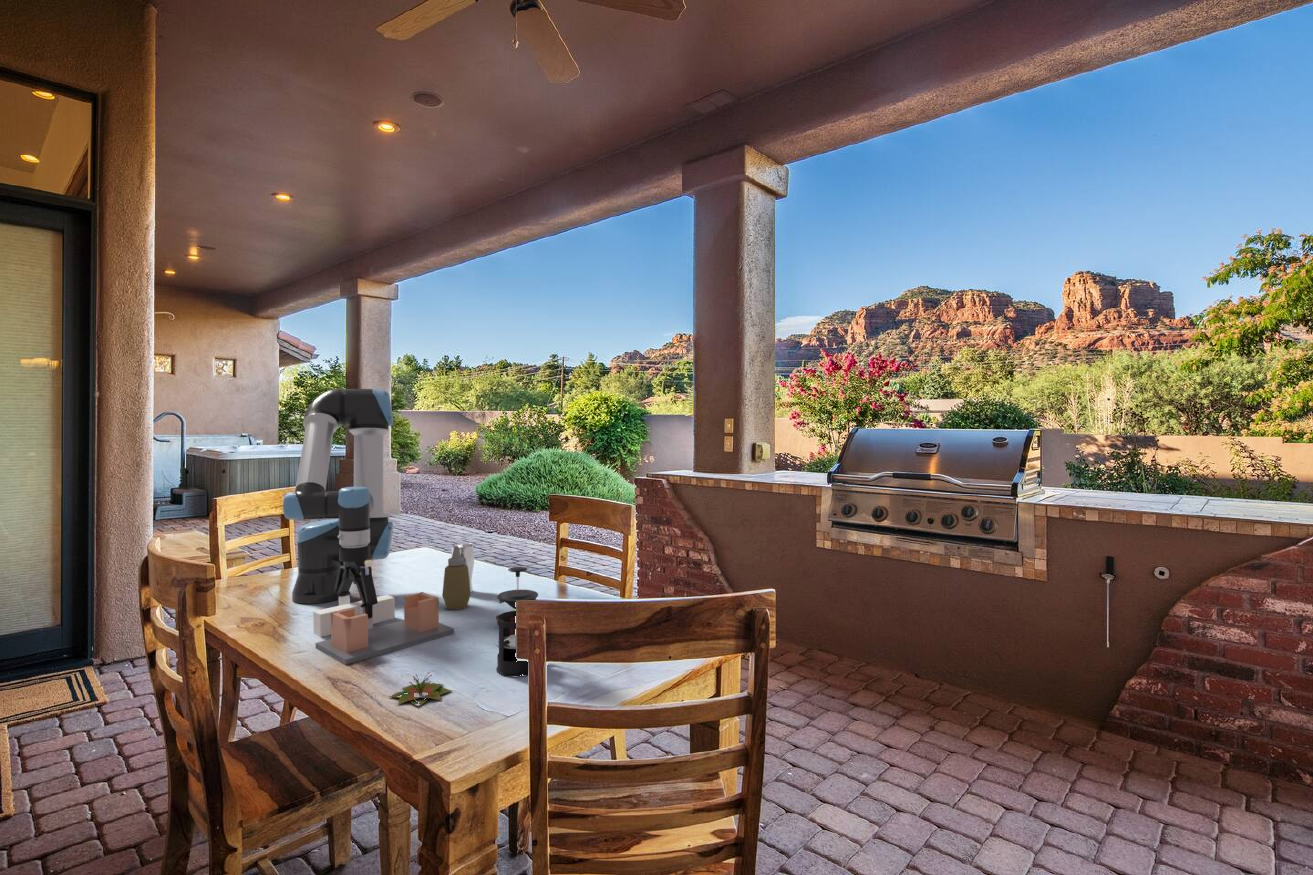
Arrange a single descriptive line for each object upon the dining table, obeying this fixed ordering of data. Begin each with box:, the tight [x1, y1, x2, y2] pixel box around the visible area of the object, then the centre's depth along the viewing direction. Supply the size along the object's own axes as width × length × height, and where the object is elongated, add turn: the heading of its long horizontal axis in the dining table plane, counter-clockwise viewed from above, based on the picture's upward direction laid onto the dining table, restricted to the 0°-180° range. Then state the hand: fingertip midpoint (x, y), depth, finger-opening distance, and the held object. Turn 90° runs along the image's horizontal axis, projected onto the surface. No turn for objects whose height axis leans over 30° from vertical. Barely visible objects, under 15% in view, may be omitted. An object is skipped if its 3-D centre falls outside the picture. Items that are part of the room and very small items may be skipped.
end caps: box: [314, 591, 455, 666], centre depth 165 cm, size 16×28×9 cm, turn 140°
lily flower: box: [388, 672, 452, 708], centre depth 134 cm, size 12×12×5 cm
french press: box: [496, 566, 539, 677], centre depth 148 cm, size 12×9×23 cm
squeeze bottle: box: [441, 546, 472, 610], centre depth 192 cm, size 8×8×18 cm
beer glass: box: [450, 542, 475, 594], centre depth 208 cm, size 7×7×15 cm
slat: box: [312, 594, 396, 638], centre depth 176 cm, size 4×20×6 cm, turn 140°
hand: (355, 624), depth 176 cm, fingers open, 12 cm apart
